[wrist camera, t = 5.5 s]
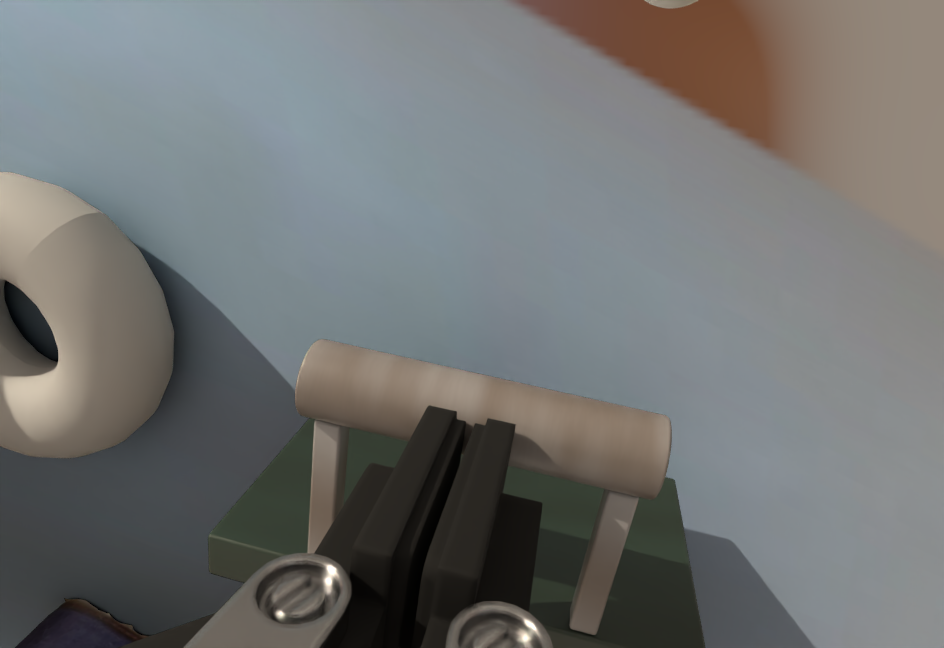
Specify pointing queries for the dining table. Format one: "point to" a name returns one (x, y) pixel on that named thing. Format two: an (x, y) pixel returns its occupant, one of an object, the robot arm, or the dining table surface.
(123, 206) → the dining table surface
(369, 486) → the robot arm
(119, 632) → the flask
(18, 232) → the donut
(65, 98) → the dining table surface
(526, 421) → the drawer
